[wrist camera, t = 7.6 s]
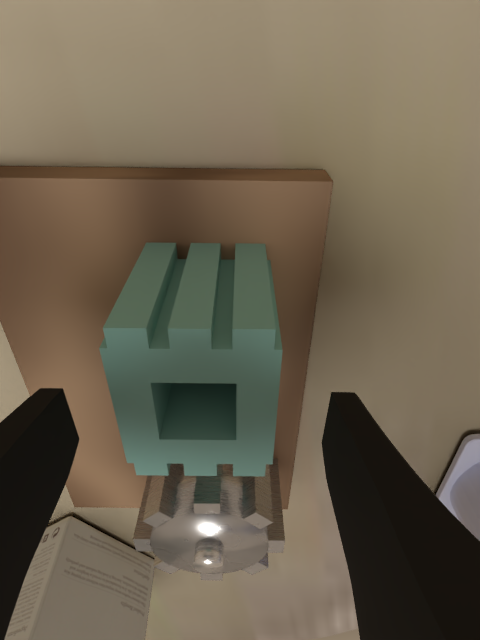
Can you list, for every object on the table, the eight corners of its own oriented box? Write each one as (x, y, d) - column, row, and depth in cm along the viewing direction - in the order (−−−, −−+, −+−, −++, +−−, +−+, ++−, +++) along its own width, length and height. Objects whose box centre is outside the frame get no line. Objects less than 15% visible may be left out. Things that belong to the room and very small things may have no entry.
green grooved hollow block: (271, 243, 13) (284, 329, 9) (264, 369, 16) (271, 476, 12) (140, 242, 13) (94, 327, 9) (158, 368, 16) (129, 475, 12)
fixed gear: (281, 422, 18) (292, 525, 14) (273, 500, 22) (280, 600, 18) (144, 420, 18) (117, 523, 14) (159, 499, 22) (140, 599, 18)
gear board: (324, 170, 13) (356, 214, 10) (285, 485, 23) (293, 566, 20) (-30, 165, 13) (-136, 208, 10) (83, 483, 23) (53, 564, 20)
